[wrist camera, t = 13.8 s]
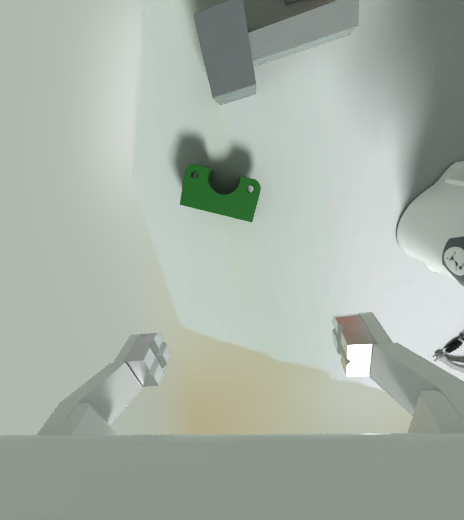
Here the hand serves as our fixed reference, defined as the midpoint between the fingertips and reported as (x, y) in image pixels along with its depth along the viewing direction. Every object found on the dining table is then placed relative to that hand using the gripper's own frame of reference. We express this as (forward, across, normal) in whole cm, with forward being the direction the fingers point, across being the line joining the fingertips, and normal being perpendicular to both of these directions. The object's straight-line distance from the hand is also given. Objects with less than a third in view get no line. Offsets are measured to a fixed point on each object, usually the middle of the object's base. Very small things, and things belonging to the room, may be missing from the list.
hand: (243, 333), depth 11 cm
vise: (+31, +6, +16) cm, 35 cm away
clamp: (+31, -4, +1) cm, 31 cm away
